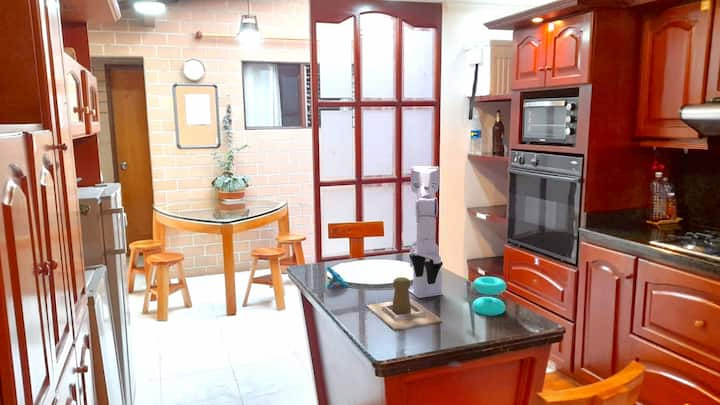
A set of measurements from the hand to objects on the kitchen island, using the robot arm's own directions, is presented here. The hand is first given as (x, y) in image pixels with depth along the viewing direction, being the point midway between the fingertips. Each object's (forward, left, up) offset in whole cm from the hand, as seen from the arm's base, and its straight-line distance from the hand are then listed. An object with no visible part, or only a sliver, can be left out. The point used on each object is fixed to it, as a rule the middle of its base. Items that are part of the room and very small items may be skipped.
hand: (425, 280), depth 161 cm
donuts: (-19, +7, -11) cm, 23 cm away
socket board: (+7, -1, -10) cm, 13 cm away
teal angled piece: (+17, -33, -11) cm, 39 cm away
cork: (+8, -1, -10) cm, 13 cm away
